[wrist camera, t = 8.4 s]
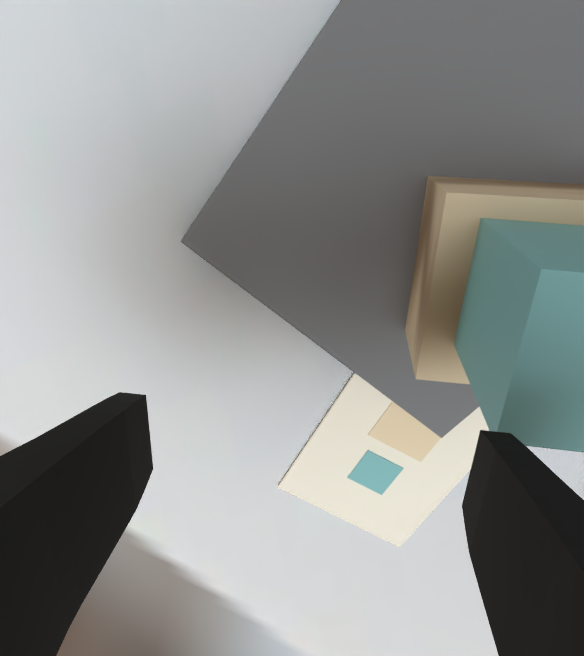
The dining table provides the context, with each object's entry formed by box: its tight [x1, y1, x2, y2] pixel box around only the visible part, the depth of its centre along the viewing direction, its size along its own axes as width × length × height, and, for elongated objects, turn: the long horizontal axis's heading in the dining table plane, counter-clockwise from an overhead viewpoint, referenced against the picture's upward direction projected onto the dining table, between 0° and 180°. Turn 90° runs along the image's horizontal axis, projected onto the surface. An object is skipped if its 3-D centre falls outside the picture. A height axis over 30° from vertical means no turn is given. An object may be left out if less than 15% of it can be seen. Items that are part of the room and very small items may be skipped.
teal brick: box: [454, 218, 584, 452], centre depth 12 cm, size 4×4×5 cm
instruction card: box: [278, 373, 489, 547], centre depth 22 cm, size 10×7×1 cm
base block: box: [405, 176, 584, 384], centre depth 16 cm, size 6×6×4 cm
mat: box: [181, 0, 584, 438], centre depth 17 cm, size 20×14×1 cm
